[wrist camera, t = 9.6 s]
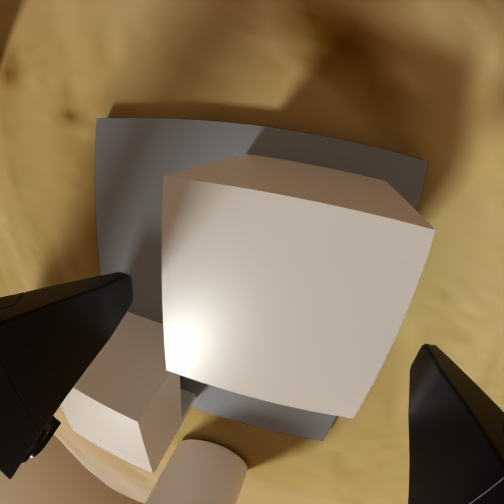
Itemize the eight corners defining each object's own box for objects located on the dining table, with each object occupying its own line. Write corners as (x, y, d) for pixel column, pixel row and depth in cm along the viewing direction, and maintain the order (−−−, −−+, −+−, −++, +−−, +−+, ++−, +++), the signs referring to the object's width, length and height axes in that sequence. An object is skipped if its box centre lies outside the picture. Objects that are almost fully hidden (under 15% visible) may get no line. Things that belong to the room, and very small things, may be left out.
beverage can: (179, 425, 27) (126, 516, 16) (255, 451, 26) (218, 552, 15) (179, 457, 30) (139, 531, 20) (243, 479, 29) (211, 559, 18)
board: (324, 432, 22) (322, 441, 21) (123, 370, 26) (118, 377, 25) (423, 160, 14) (428, 161, 13) (106, 118, 17) (96, 118, 16)
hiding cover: (352, 304, 16) (353, 418, 9) (231, 277, 18) (166, 369, 11) (385, 180, 14) (435, 229, 6) (245, 153, 15) (163, 176, 8)
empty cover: (195, 398, 23) (153, 473, 16) (124, 370, 24) (73, 430, 17) (196, 335, 20) (137, 421, 13) (113, 306, 21) (43, 369, 14)
